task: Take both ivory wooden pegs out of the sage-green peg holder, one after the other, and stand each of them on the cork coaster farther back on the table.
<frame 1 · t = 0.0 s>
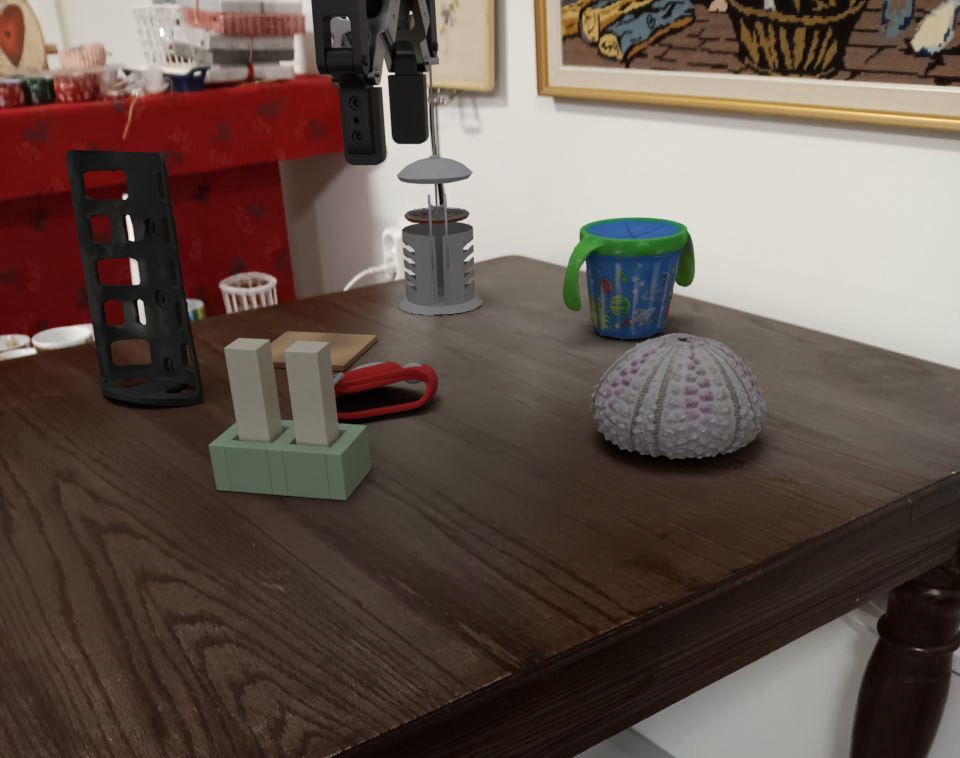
hand: (389, 153, 58), 22 cm above the table, tool pointing down, fingers open, 8 cm apart
snack cup: (627, 333, 103), on the table
french press: (441, 307, 113), on the table
peg front: (323, 481, 73), resting in peg rack
holder: (160, 393, 91), on the table
peg back: (267, 477, 74), resting in peg rack
sea urchin shell: (676, 442, 78), on the table
peg rack: (295, 479, 73), on the table
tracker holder: (363, 409, 86), on the table
coaster: (314, 353, 99), on the table
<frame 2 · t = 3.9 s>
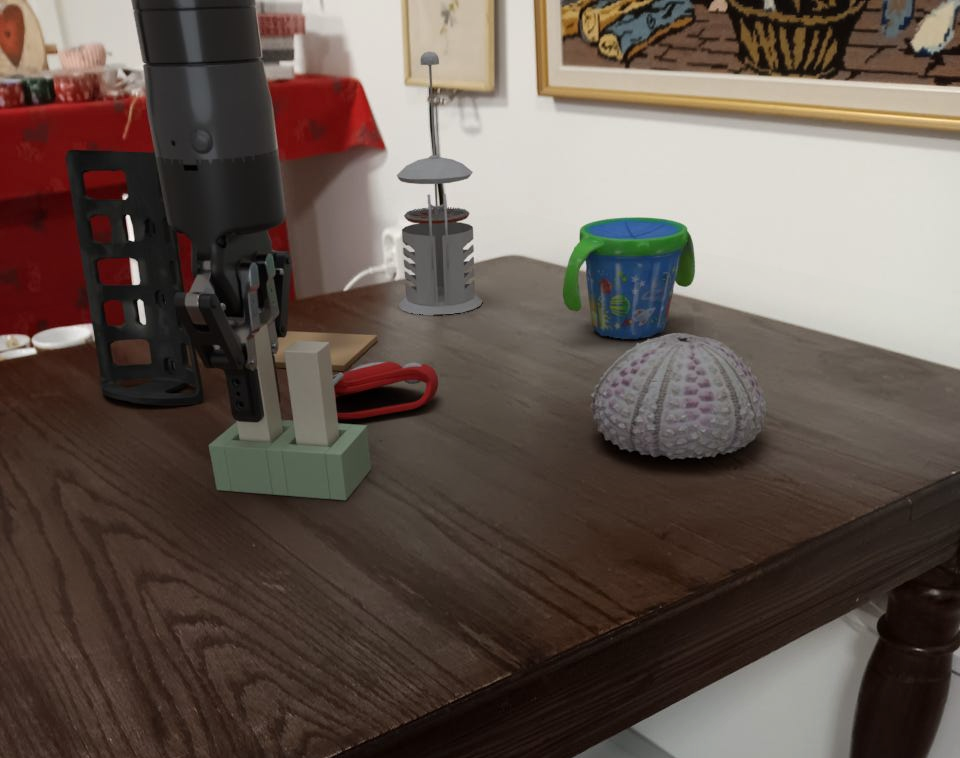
hand: (257, 412, 71), 5 cm above the table, tool pointing down, fingers closed on peg back, 2 cm apart
peg back: (266, 463, 73), point 1 cm above the table, touching gripper
everything else where it was.
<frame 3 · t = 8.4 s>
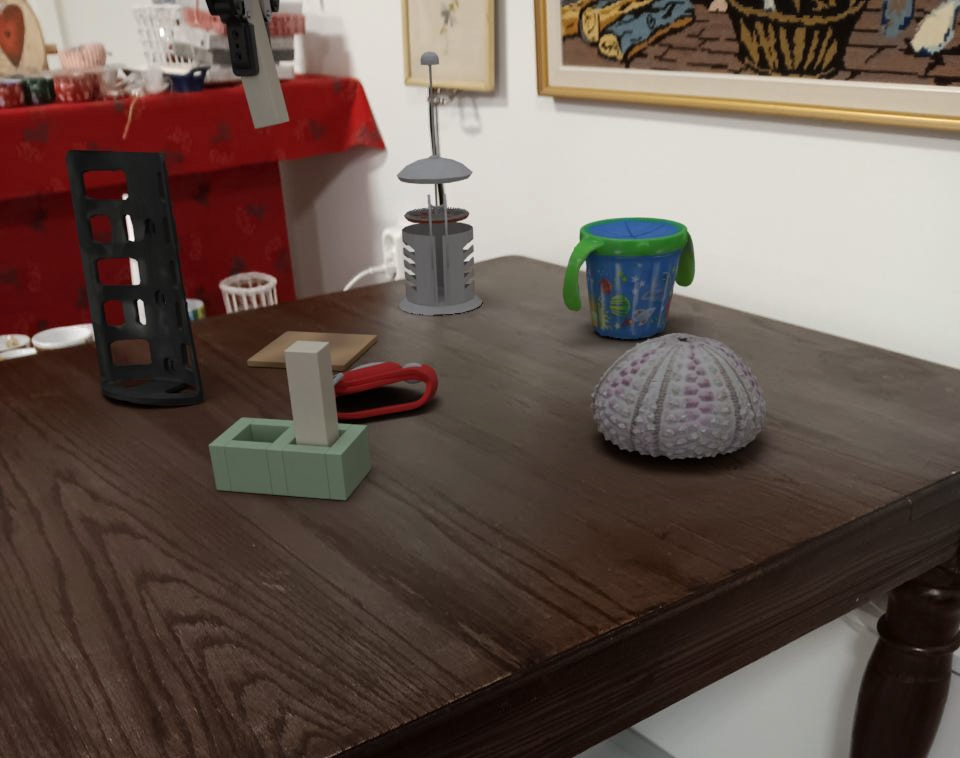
hand: (253, 73, 85), 24 cm above the table, tool pointing down, fingers closed on peg back, 2 cm apart
peg back: (272, 125, 87), point 21 cm above the table, tilted 10°, touching gripper
everything else where it was.
when the fingers open (5 cm above the table, at t = 13.1 s): peg back stays where it is, resting on coaster.
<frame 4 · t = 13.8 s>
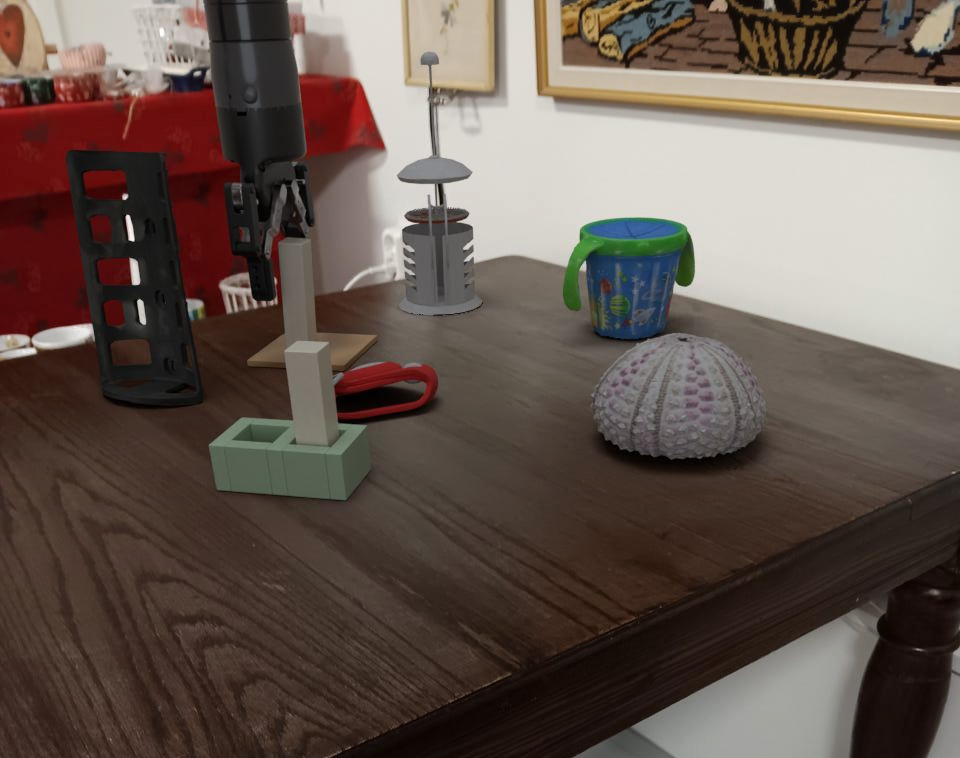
hand: (282, 288, 96), 6 cm above the table, tool pointing down, fingers open, 8 cm apart
peg back: (301, 345, 99), point 1 cm above the table, touching coaster
everything else where it was.
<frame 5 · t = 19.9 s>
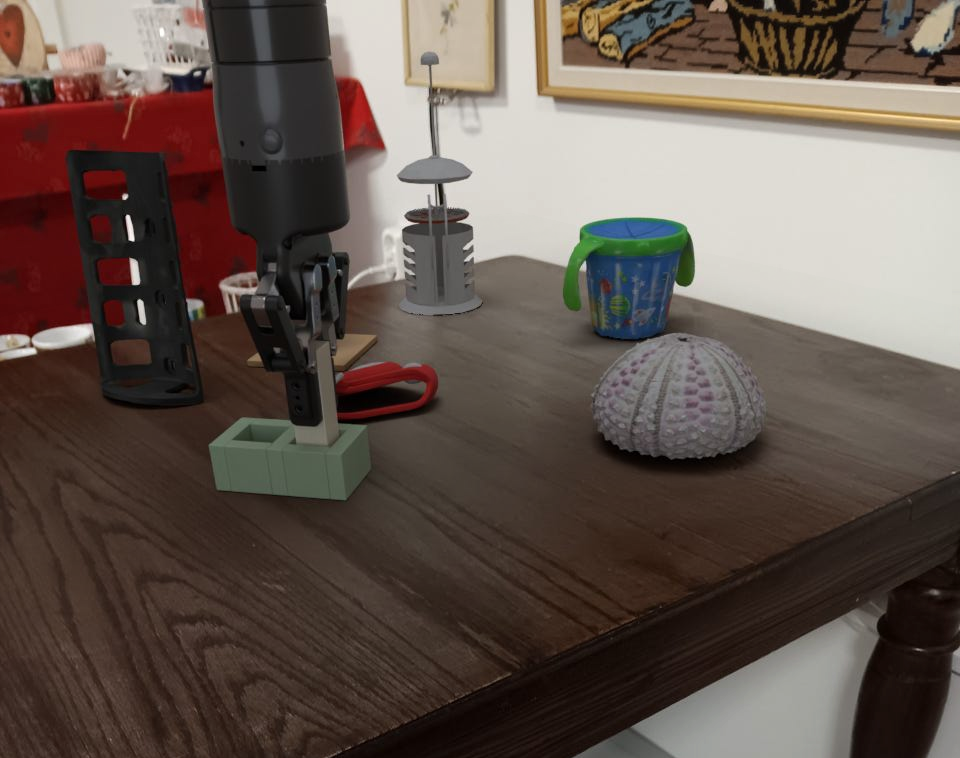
hand: (314, 415, 70), 5 cm above the table, tool pointing down, fingers closed on peg front, 2 cm apart
peg front: (322, 480, 73), resting in peg rack, touching gripper
everything else where it was.
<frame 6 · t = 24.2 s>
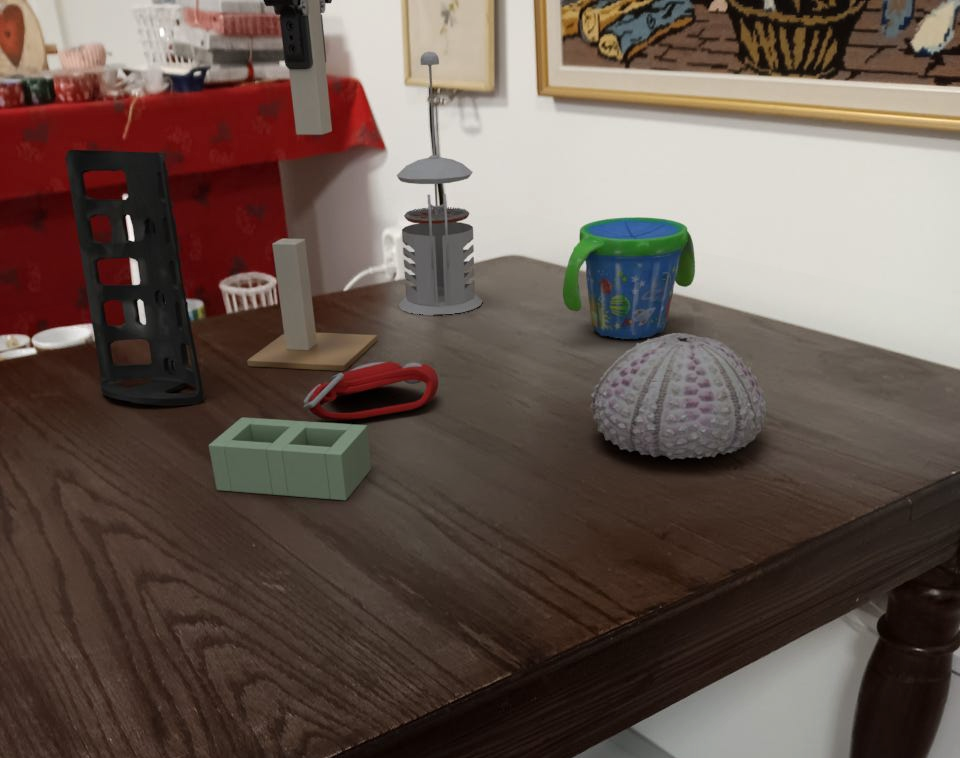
hand: (306, 66, 83), 25 cm above the table, tool pointing down, fingers closed on peg front, 2 cm apart
peg front: (314, 133, 86), point 20 cm above the table, touching gripper
everything else where it was.
when the fingers open (6 cm above the table, at t = 28.9 s): peg front stays where it is, resting on coaster.
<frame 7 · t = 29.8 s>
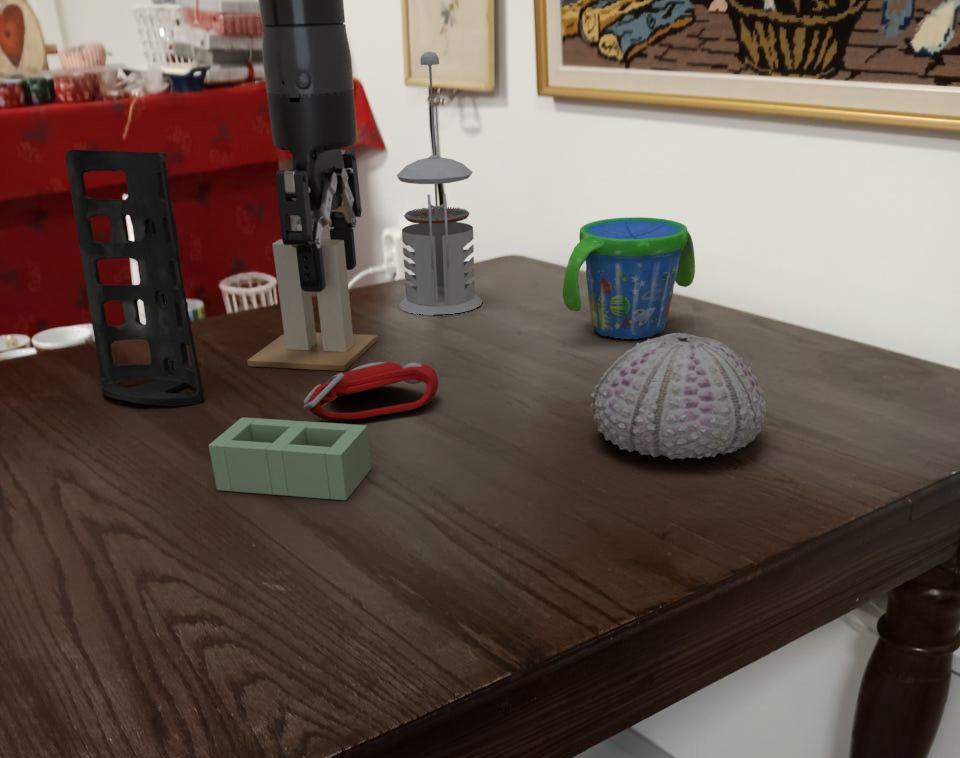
hand: (329, 279, 95), 7 cm above the table, tool pointing down, fingers open, 8 cm apart
peg front: (338, 348, 99), point 1 cm above the table, touching coaster
everything else where it was.
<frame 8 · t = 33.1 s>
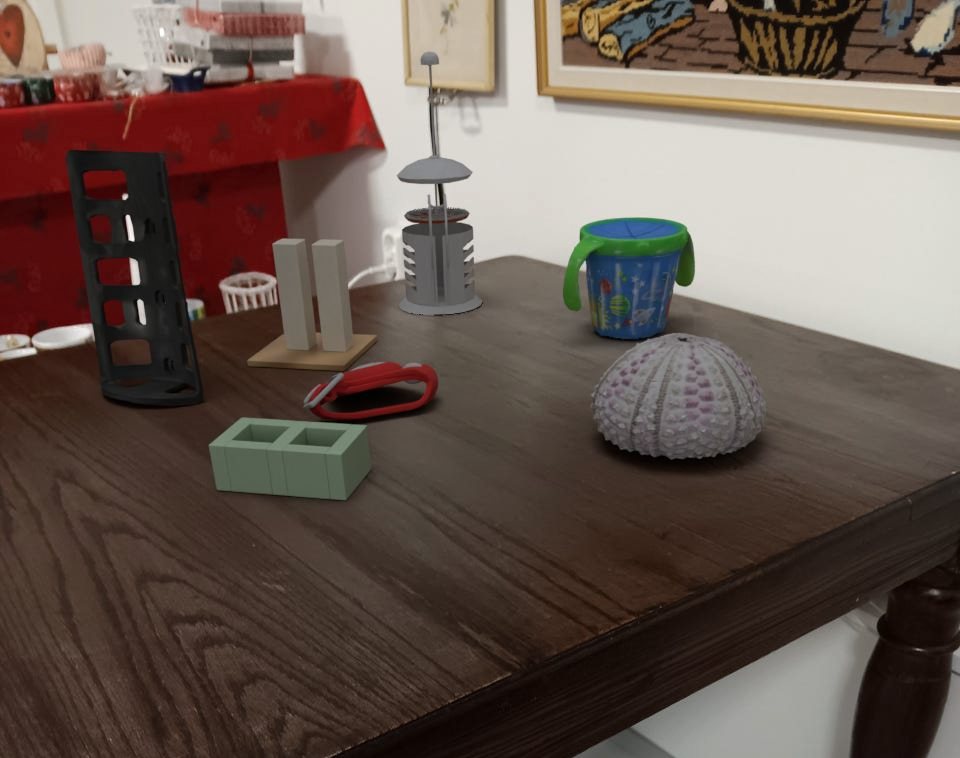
nothing on the table moved.
at the end: peg back inside the target area on the coaster (1.3 cm from its centre), point 0.6 cm above the coaster's base; peg front inside the target area on the coaster (2.6 cm from its centre), point 0.6 cm above the coaster's base; peg front tilted 0° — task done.
